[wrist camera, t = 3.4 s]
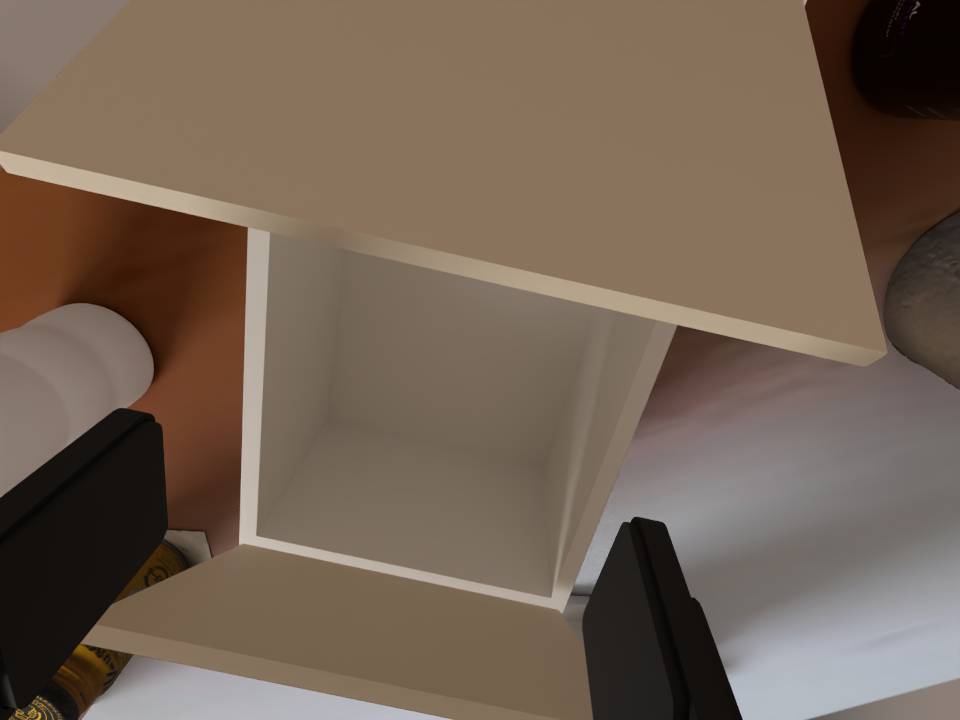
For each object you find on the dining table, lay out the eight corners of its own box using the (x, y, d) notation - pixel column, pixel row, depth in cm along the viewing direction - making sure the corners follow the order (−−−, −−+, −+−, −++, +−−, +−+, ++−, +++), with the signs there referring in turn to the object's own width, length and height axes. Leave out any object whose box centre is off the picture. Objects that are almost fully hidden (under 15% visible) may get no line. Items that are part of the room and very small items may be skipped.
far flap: (649, 738, 14) (647, 759, 14) (558, 609, 25) (556, 620, 25) (77, 620, 14) (70, 641, 14) (243, 543, 25) (240, 554, 25)
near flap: (790, 18, 15) (802, -1, 15) (865, 367, 9) (887, 353, 9) (265, -111, 15) (260, -135, 14) (7, 172, 9) (-13, 147, 9)
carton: (697, 37, 25) (811, -11, 15) (551, 475, 36) (562, 613, 26) (362, -44, 25) (258, -147, 15) (317, 424, 36) (239, 545, 26)
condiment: (98, 524, 41) (-54, 672, 30) (205, 530, 41) (90, 682, 30) (124, 594, 44) (-6, 751, 33) (224, 600, 44) (126, 761, 33)
